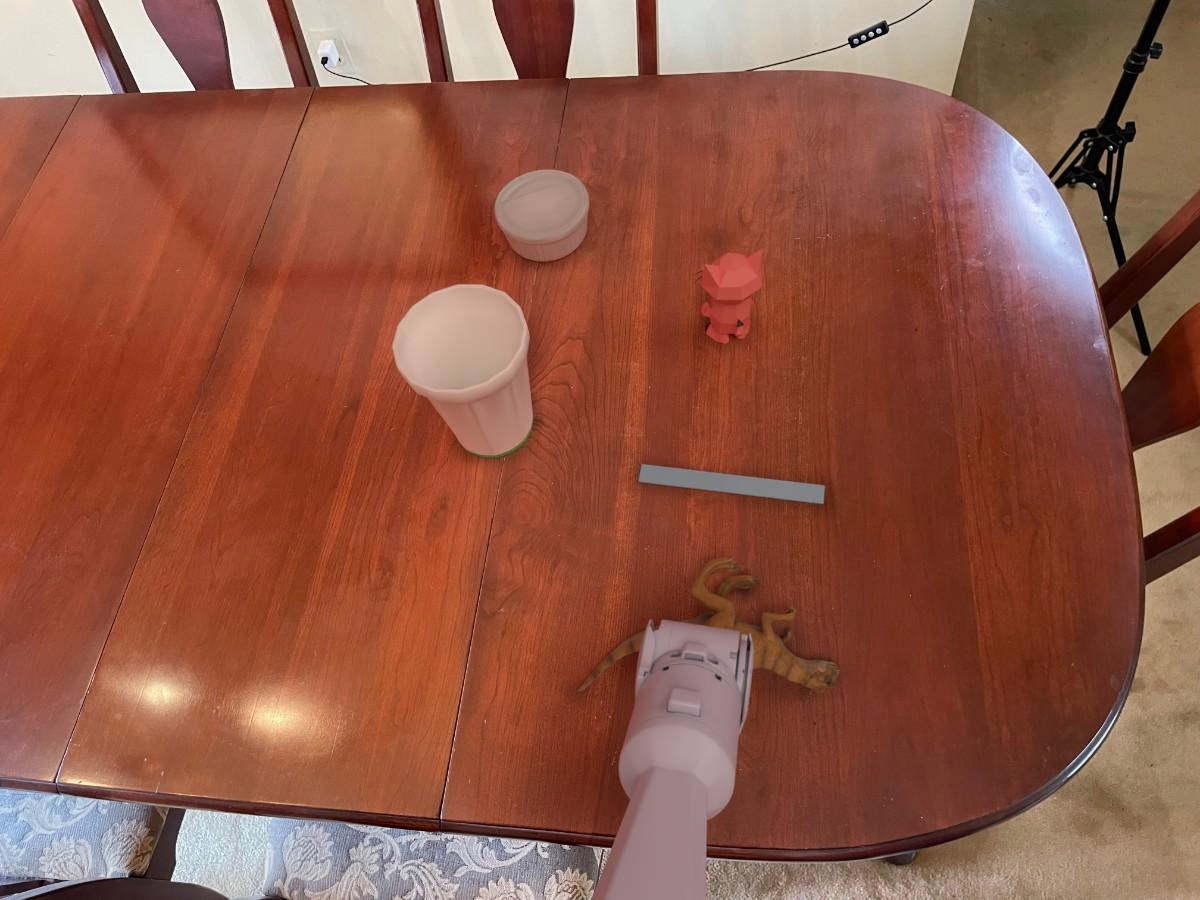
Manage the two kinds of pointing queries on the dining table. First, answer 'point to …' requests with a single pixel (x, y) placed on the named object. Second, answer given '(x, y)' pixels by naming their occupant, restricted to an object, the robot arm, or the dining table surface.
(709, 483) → the tape line
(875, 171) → the dining table surface
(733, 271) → the cat figurine
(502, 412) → the cup
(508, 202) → the ramekin
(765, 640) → the dinosaur figurine
